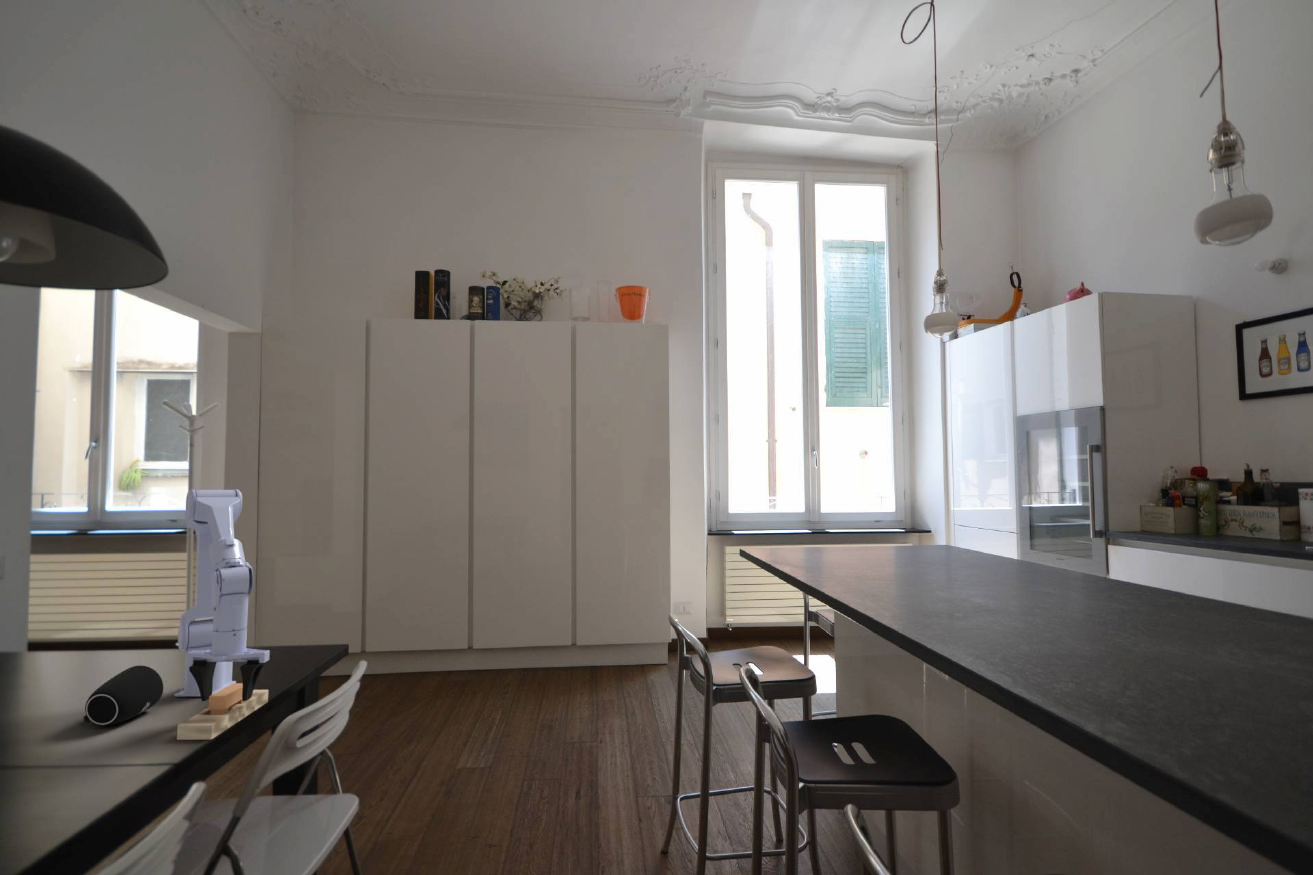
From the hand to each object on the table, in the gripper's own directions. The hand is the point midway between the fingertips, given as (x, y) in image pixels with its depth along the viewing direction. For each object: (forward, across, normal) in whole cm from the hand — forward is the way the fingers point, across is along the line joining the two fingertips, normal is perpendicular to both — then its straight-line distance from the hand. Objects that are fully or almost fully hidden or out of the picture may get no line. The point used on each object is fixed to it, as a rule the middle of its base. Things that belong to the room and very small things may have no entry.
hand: (226, 699), depth 133 cm
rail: (+4, 0, 0) cm, 4 cm away
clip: (+4, 0, +1) cm, 4 cm away
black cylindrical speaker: (+1, -21, -5) cm, 22 cm away
